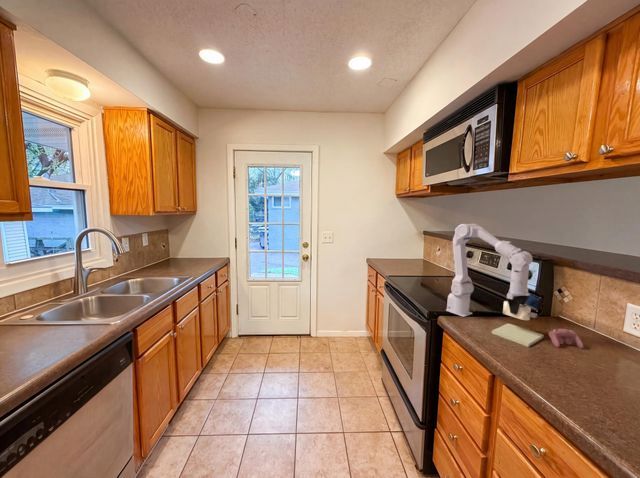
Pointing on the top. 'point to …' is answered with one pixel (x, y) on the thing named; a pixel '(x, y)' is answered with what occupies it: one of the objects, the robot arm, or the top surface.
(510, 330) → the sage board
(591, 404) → the top surface
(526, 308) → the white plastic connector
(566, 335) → the pink toy car
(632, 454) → the top surface
